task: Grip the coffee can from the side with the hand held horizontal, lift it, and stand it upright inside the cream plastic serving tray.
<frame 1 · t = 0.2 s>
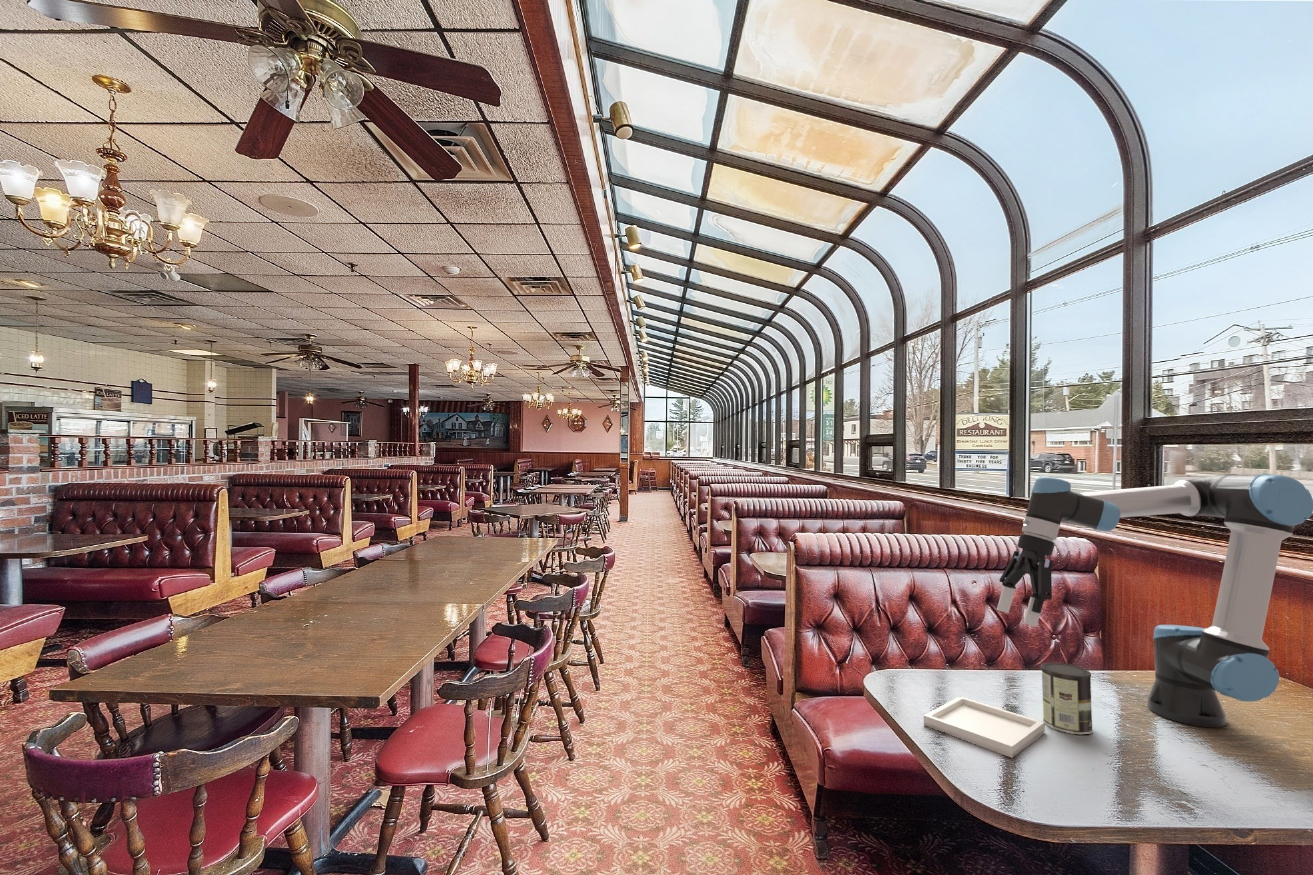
hand: (1015, 617, 144), 27 cm above the table, tool tilted 15°, fingers open, 13 cm apart
coffee can: (1067, 726, 143), on the table
serving tray: (983, 729, 141), on the table
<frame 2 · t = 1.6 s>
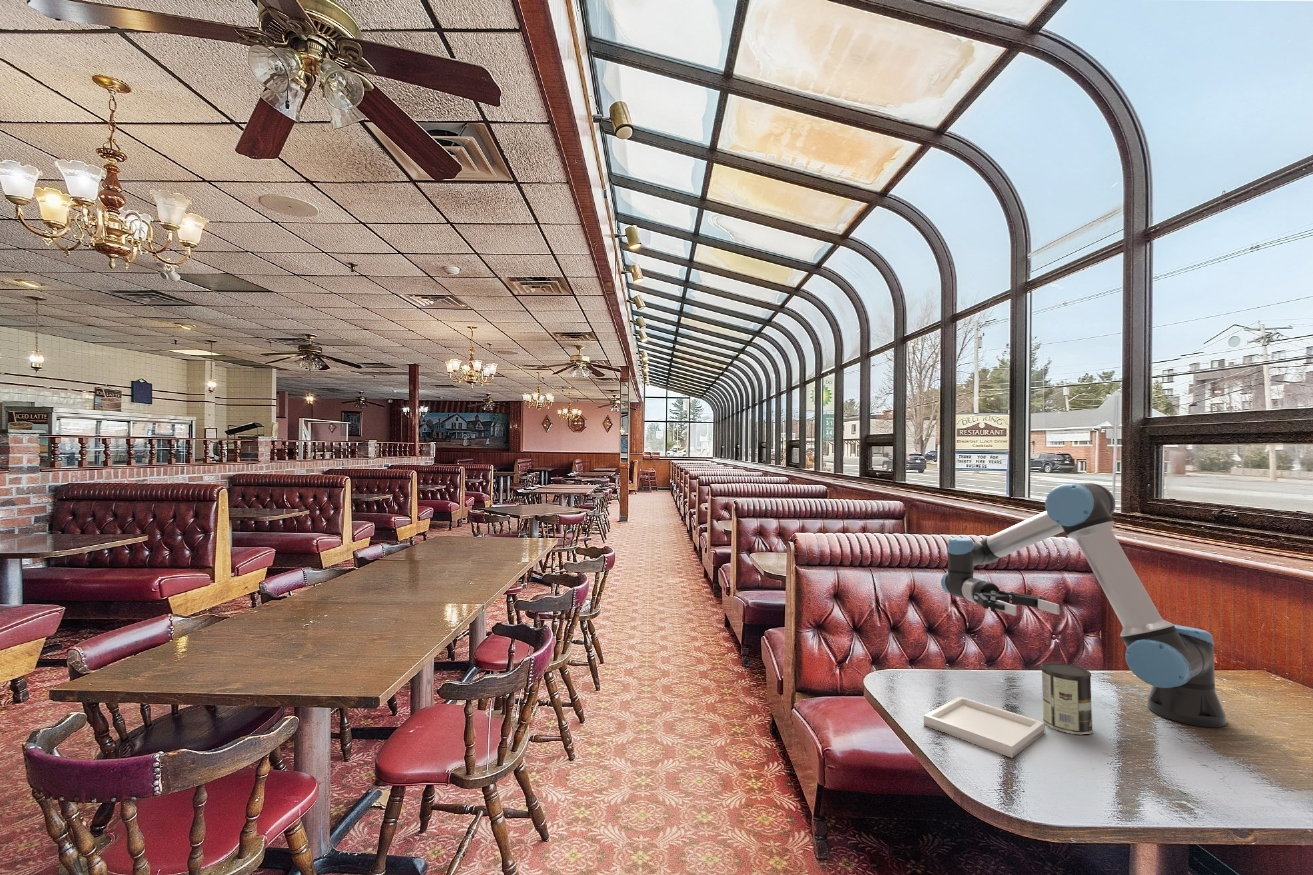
hand: (1036, 610, 159), 25 cm above the table, tool horizontal, fingers open, 13 cm apart
nothing on the table moved.
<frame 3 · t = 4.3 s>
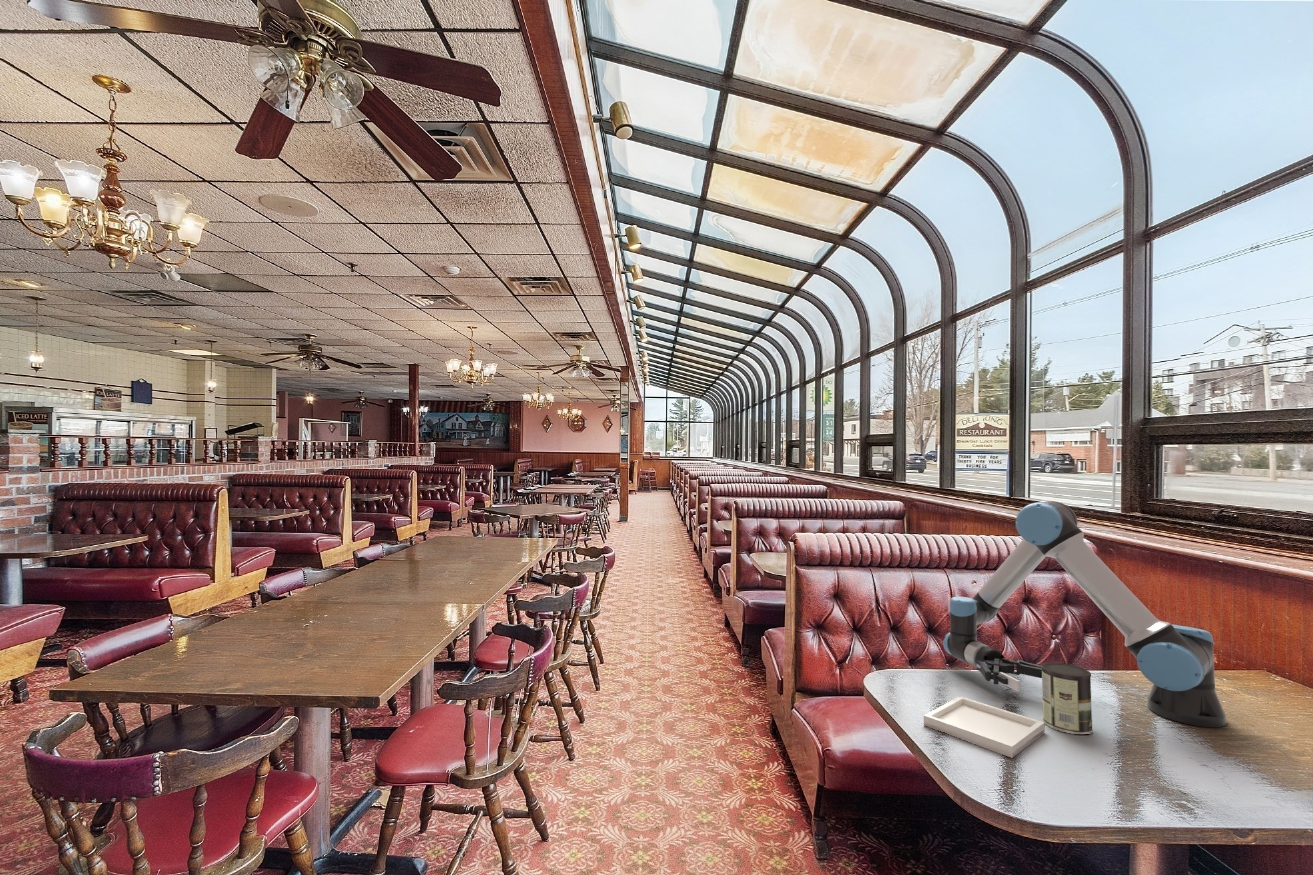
hand: (1042, 685, 151), 7 cm above the table, tool horizontal, fingers open, 13 cm apart
nothing on the table moved.
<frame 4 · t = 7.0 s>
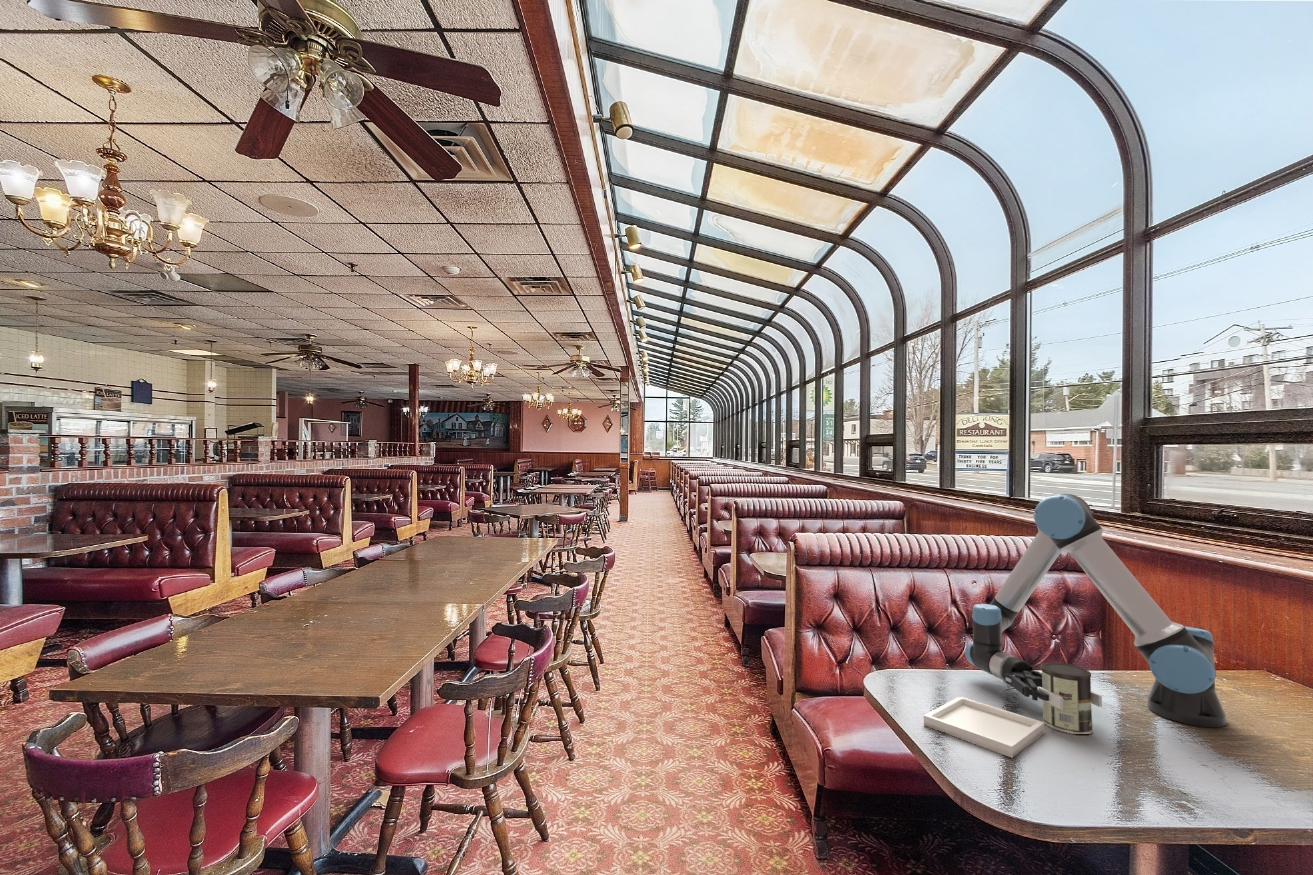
hand: (1081, 702, 140), 8 cm above the table, tool horizontal, fingers closed on coffee can, 10 cm apart
coffee can: (1067, 726, 143), on the table, touching gripper
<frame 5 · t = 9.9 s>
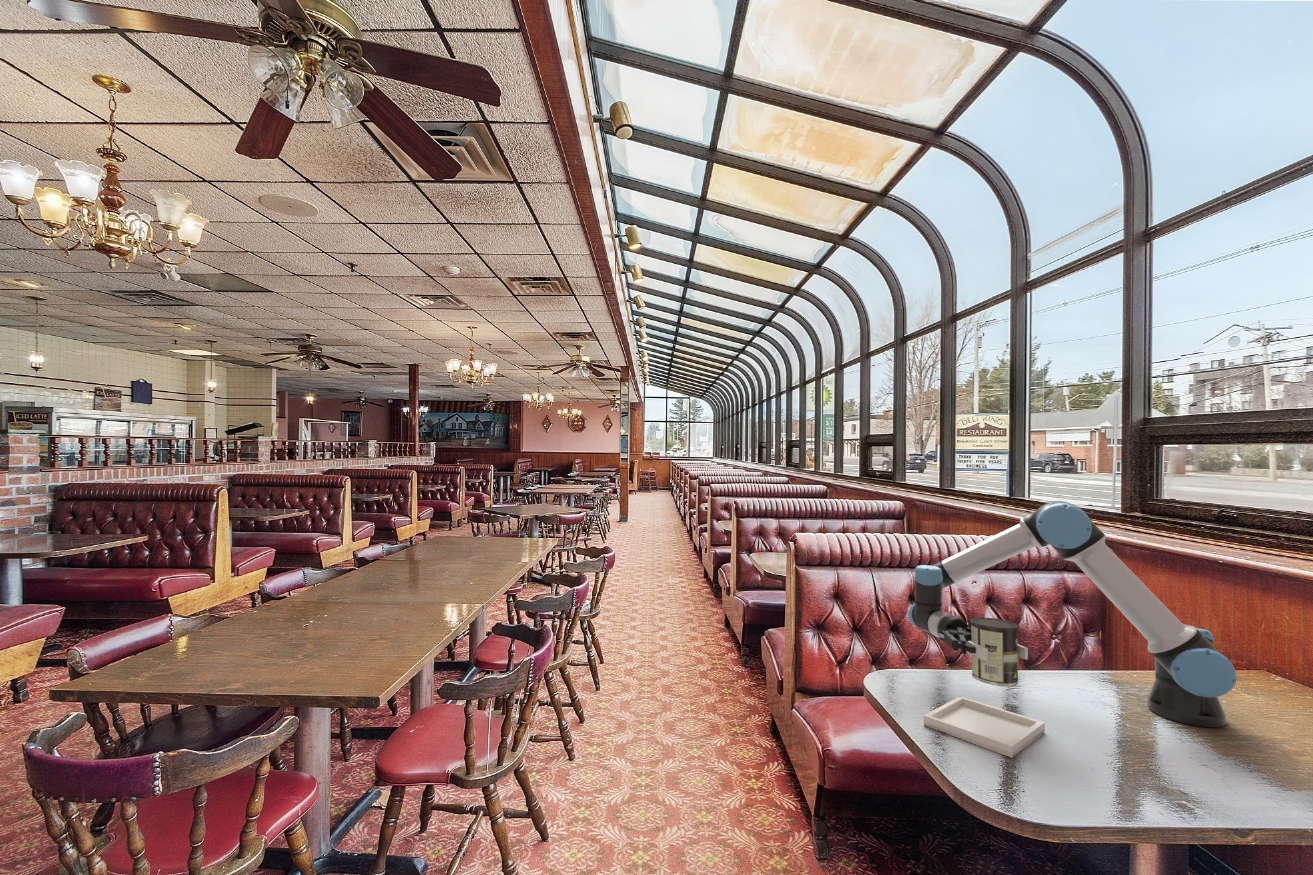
hand: (1006, 654, 140), 19 cm above the table, tool horizontal, fingers closed on coffee can, 10 cm apart
coffee can: (994, 679, 144), point 11 cm above the table, touching gripper
when the fingers open (10 cm above the table, at t = 12.8 s): coffee can drops 1 cm, resting on serving tray.
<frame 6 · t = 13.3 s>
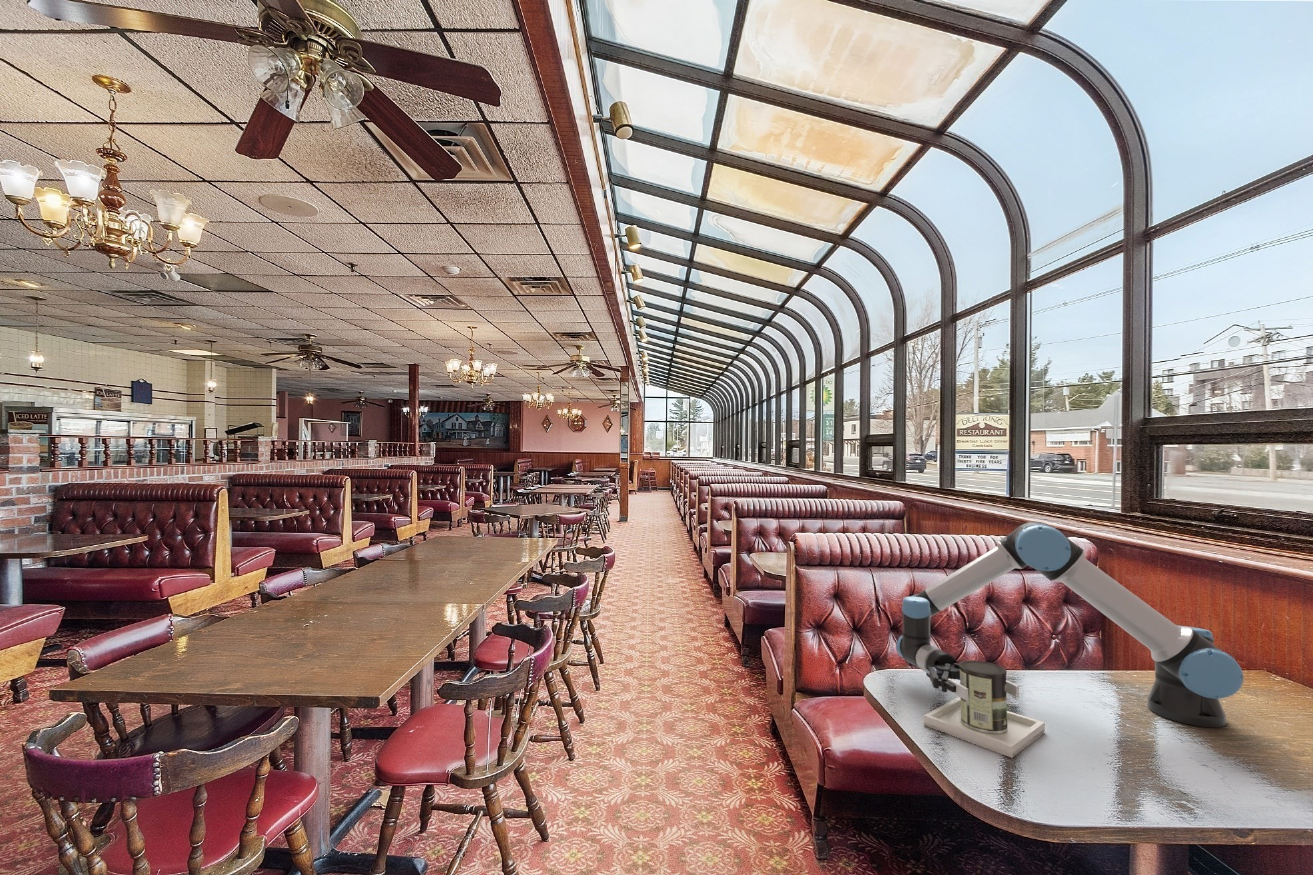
hand: (992, 693, 138), 10 cm above the table, tool horizontal, fingers open, 13 cm apart
coffee can: (983, 725, 141), point 1 cm above the table, touching serving tray
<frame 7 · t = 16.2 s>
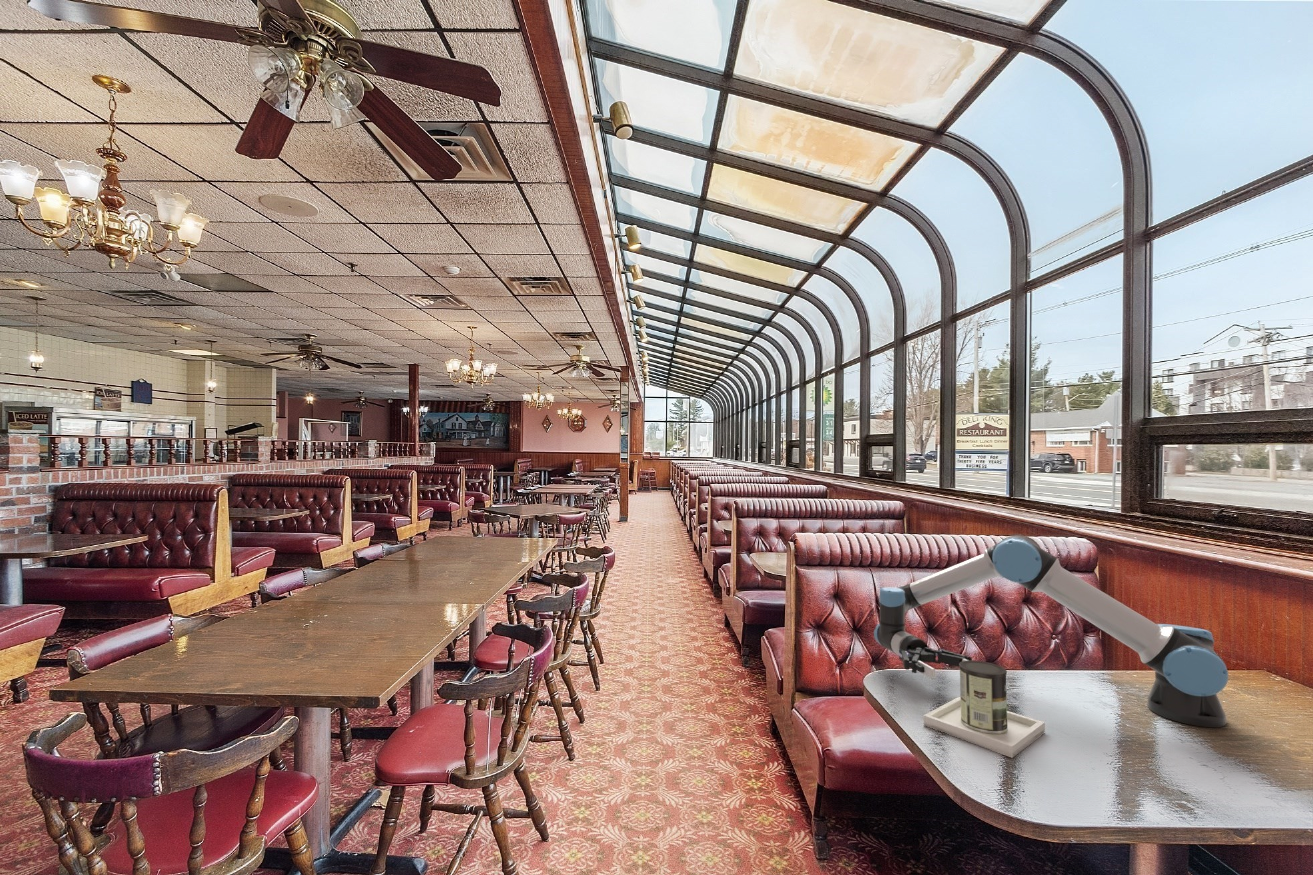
hand: (957, 673, 151), 10 cm above the table, tool horizontal, fingers open, 13 cm apart
nothing on the table moved.
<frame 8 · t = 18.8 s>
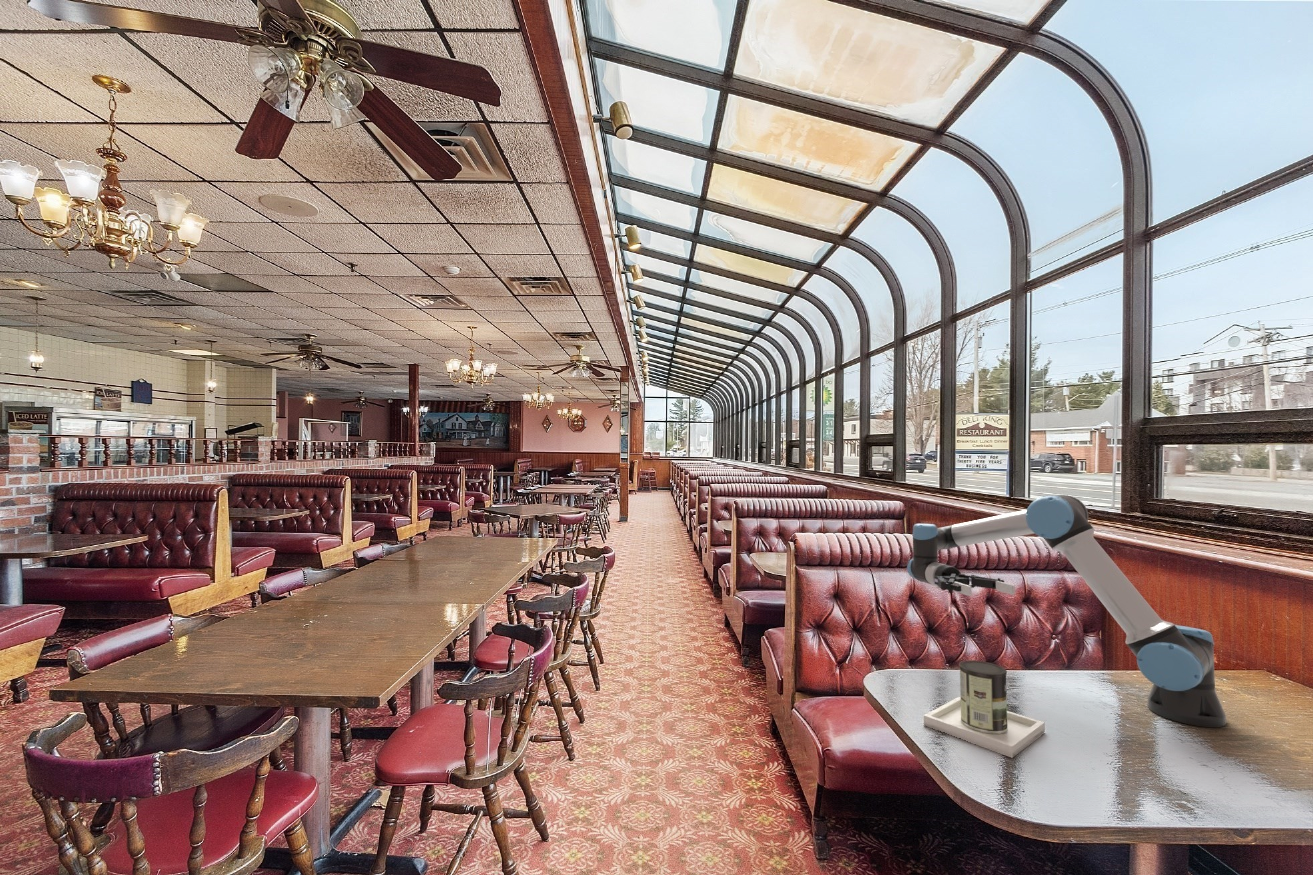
hand: (992, 590, 161), 30 cm above the table, tool horizontal, fingers open, 13 cm apart
nothing on the table moved.
at the end: coffee can inside the target area on the serving tray (0.1 cm from its centre), point 0.8 cm above the serving tray's base; coffee can tilted 0°; the gripper is holding nothing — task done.
